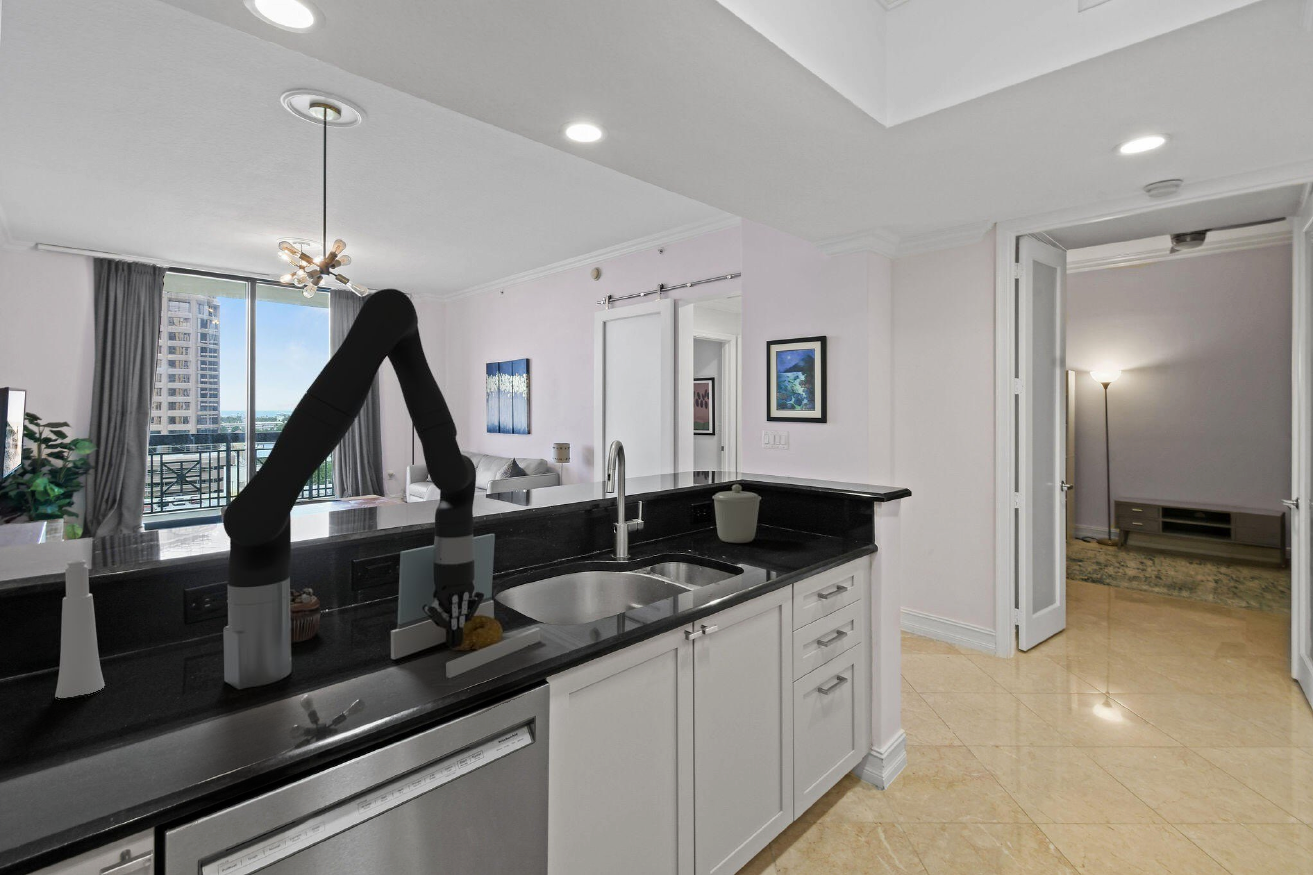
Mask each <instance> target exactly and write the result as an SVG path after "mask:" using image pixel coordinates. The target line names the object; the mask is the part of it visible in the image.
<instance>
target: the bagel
mask: <svg viewBox="0 0 1313 875" xmlns="http://www.w3.org/2000/svg"><path fill="white" fill-rule="evenodd" d="M502 638H503V627H502V624H501V623H500V622H499V621H498V620H497V619H495V617H494V618H491V617H489V616H484V615H478V616H473V618H472V620H471V621H470V622H468V621H467V622H466V623H465V624H464V626H463V640H462V643H461V646H459V647H456V648H451V647H450V649H451V650H454V651H463V652H466V651H468V652H469V651H471V650H476V651H478V650H481V649H483V648H486V647H489V646H491V645H494V644H496V643H499V642H501V640H502Z"/></svg>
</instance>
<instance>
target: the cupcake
mask: <svg viewBox="0 0 1313 875" xmlns="http://www.w3.org/2000/svg"><path fill="white" fill-rule="evenodd" d="M313 592H314V591H313V589H312V588H309V587H308V586H307V588H306V587H303V588H300V589H299V590H298V591H296V590H295V589H294V588H290V621H291V644H293V643H300V642H304V641H307V640H310V639H312V638H314V637H315V636H316V635H317V632H318V629H319V622H320V618H321V614H322V608H321V606H320V603H321V602H320V600H319V599H318V597H317V596H314V595H313Z"/></svg>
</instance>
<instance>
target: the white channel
mask: <svg viewBox="0 0 1313 875" xmlns="http://www.w3.org/2000/svg"><path fill="white" fill-rule="evenodd" d="M494 605H495V602H494V600H493V599H492V600H491V601H490V602H486V603H483V604H480V605H479V607H478V609H477V611H476V612H475V614H474V616H478V615H484V616H489V617H491V618H494V619H495V611H494V610H495V606H494ZM469 611H470V610H469ZM540 641H541V628H538V627H535V628H533V629H530V630H528V631H525V632H523V633H520V634H518V635H514V636H512V637H510V638H507V639H504V640H502V641H499V642H498V643H496V644H494V645H491V646H489V647H486V648H483V649H481V650H476V651H473V652H470V653H467V654H465V655H463V656H461V657H457V658H456V659H452V660H450V661H447V662H446V663H445V667H446V668H445V669H446V670H445V672H446V673H445V675H446V676H445V677H446V678H449V679H451V678H453V677H456V676H458V675H460V674H463V673H465V672H468V671H470V670H473V669H475V668H478V667H480V666H483V665H485V664H488V663H491V662H493V661H495V660H497V659H500V658H502V657H504V656H507V655H509V654H511V653H512V654H513V653H515V652H517V651H519V650H521V649H524V648H525V647H526V648H527V647H529V646H531V645H534V644H536V643H538V642H540ZM442 643H443V644H444V643H446V629H444V628H441V627H438V626H436V624H435V623H434V622H433V621H432V620H428V621H425V622H422V623H419V624H415V625H412V626H409V627H406V628H402V629H398V628H396V629H393V630H390V659H392V660H397V659H400V658H402V657H406V656H408V655H411V654H414V653H417V652H419V651H422V650H425V649H426V650H427V649H428V648H431V647H433V646H437V645H439V644H442ZM528 645H529V646H528Z"/></svg>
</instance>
